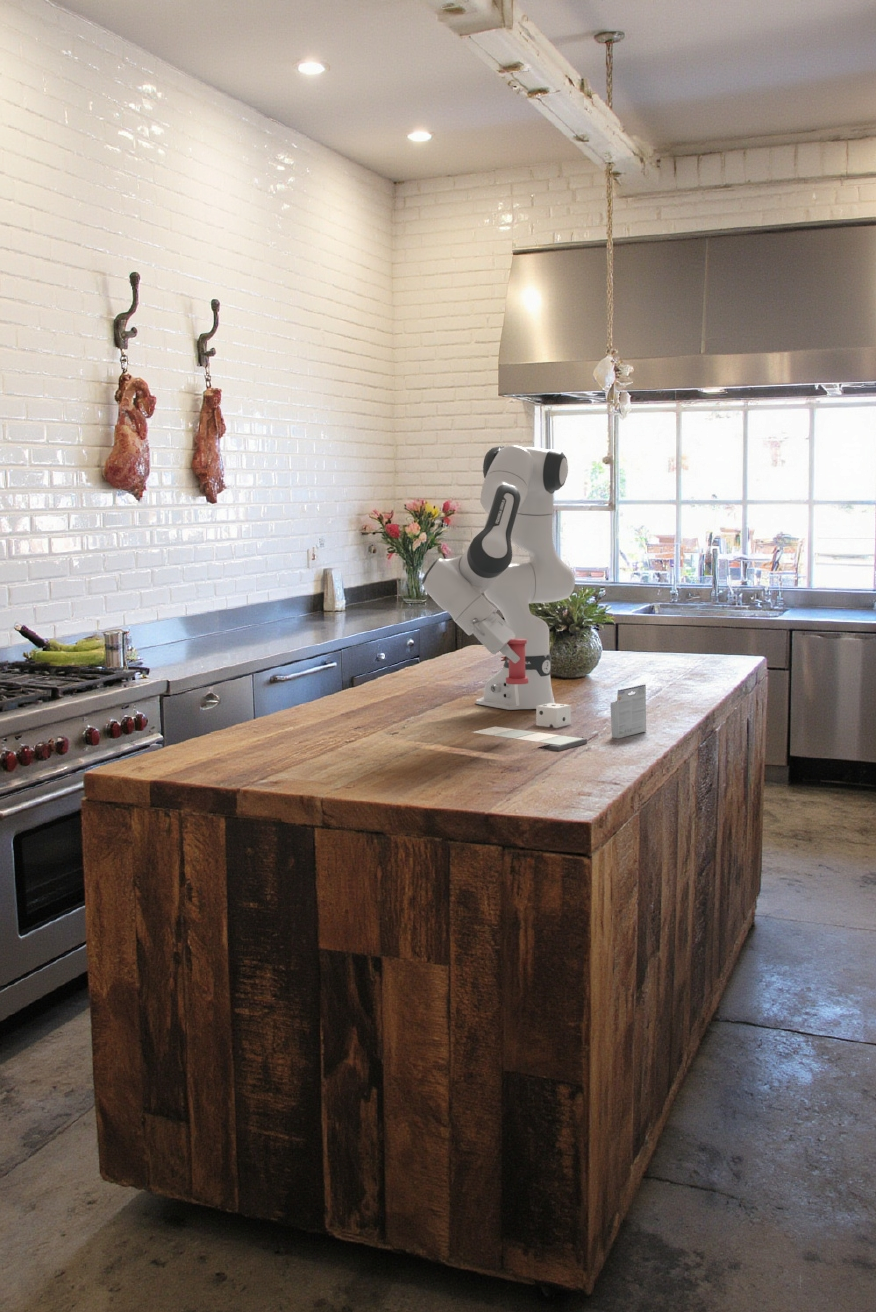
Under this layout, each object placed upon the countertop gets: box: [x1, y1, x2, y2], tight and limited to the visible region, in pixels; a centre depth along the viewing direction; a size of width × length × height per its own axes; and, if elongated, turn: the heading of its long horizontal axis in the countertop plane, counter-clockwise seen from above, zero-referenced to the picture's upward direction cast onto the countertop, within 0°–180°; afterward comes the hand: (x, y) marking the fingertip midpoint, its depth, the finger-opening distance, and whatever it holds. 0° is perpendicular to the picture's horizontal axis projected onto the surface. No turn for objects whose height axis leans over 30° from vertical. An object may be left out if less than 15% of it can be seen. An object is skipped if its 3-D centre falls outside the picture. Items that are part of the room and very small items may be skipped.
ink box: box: [610, 684, 647, 740], centre depth 272 cm, size 12×2×12 cm, turn 135°
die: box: [535, 702, 572, 729], centre depth 281 cm, size 6×6×6 cm
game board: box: [471, 726, 588, 752], centre depth 268 cm, size 26×11×1 cm, turn 49°
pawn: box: [506, 639, 528, 684], centre depth 267 cm, size 5×5×10 cm
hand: (519, 659), depth 267 cm, fingers closed on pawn, 4 cm apart
